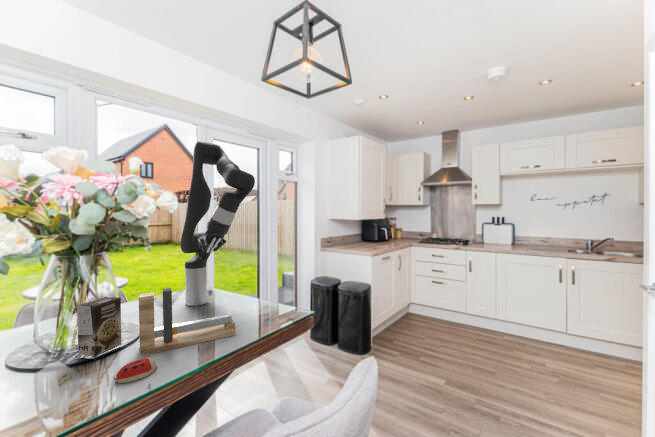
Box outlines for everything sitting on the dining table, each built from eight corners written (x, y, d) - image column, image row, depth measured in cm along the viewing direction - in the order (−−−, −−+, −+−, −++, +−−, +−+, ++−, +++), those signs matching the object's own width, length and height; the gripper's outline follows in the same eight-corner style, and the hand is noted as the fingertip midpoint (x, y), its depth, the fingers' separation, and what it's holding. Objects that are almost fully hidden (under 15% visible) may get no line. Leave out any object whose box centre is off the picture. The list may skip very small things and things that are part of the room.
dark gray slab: (163, 336, 98) (162, 288, 97) (171, 335, 99) (170, 287, 98) (164, 342, 93) (163, 291, 93) (172, 340, 95) (171, 290, 94)
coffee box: (95, 361, 86) (93, 306, 85) (77, 358, 87) (75, 304, 86) (122, 346, 94) (121, 297, 94) (106, 344, 96) (105, 296, 95)
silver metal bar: (147, 337, 94) (147, 329, 94) (230, 320, 108) (229, 313, 108) (147, 340, 92) (147, 331, 92) (231, 322, 106) (231, 315, 106)
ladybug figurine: (161, 371, 80) (161, 358, 80) (120, 389, 72) (120, 375, 72) (150, 364, 84) (149, 351, 84) (109, 380, 76) (109, 367, 76)
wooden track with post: (140, 344, 96) (139, 292, 95) (230, 325, 111) (230, 280, 111) (139, 356, 88) (138, 299, 88) (237, 334, 104) (236, 286, 103)
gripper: (228, 217, 117) (210, 255, 119) (201, 213, 105) (182, 255, 107) (240, 225, 114) (222, 264, 116) (214, 222, 102) (194, 265, 104)
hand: (202, 260), depth 111 cm, fingers closed
